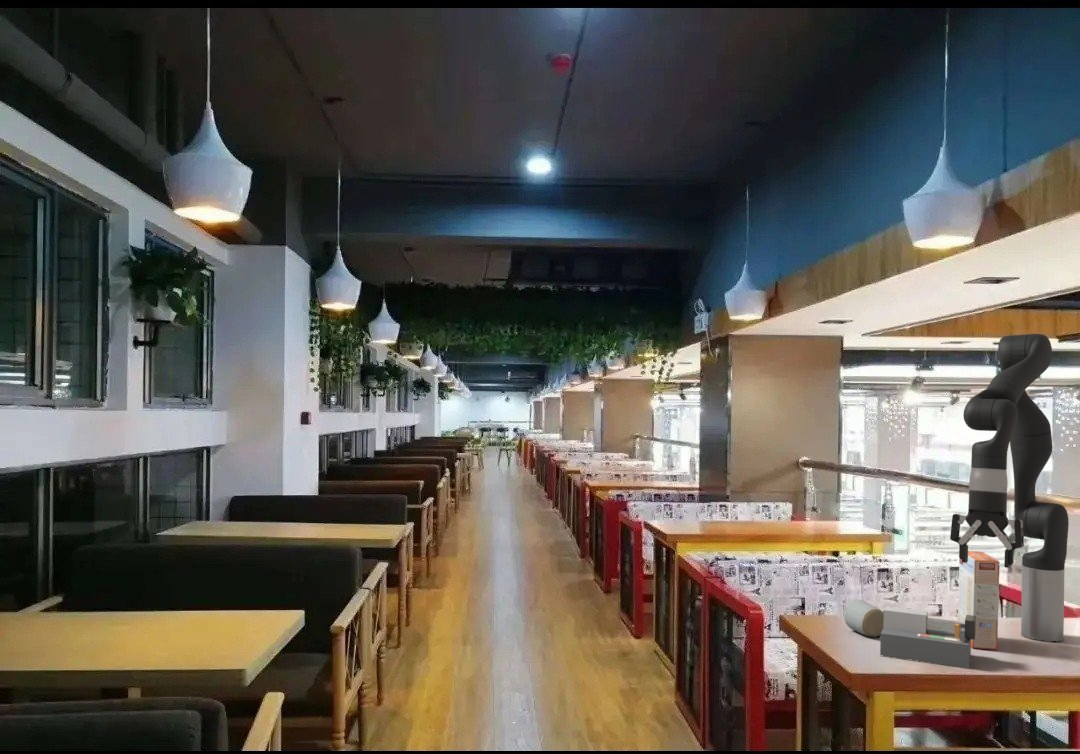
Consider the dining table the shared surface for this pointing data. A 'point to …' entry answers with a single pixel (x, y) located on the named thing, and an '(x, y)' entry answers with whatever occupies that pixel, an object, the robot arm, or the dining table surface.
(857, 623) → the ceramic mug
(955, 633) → the orange rectangular prism
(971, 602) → the cracker box
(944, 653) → the gauge housing
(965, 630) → the plunger
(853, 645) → the dining table surface
